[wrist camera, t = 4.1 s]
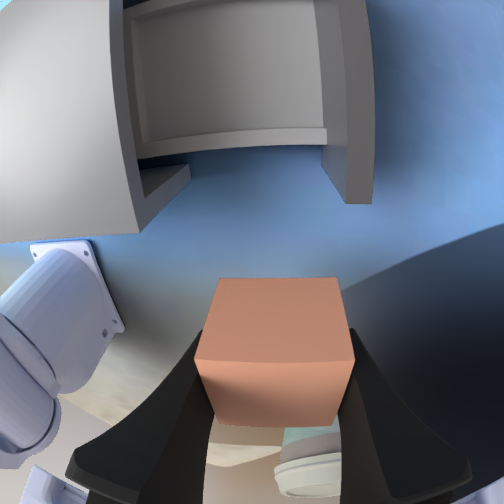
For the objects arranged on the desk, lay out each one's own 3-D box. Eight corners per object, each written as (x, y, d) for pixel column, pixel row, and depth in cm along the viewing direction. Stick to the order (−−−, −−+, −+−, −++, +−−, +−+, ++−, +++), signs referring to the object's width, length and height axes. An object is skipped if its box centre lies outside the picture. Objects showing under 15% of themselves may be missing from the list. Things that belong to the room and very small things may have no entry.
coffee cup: (387, 348, 22) (416, 469, 12) (338, 396, 26) (345, 497, 16) (304, 326, 21) (310, 477, 11) (264, 381, 25) (254, 495, 15)
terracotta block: (325, 352, 13) (331, 425, 9) (232, 352, 13) (219, 423, 10) (336, 277, 10) (355, 360, 7) (219, 278, 11) (194, 358, 7)
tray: (339, 166, 15) (371, 204, 9) (150, 177, 16) (96, 217, 11) (324, -27, 9) (345, -80, 3) (132, -1, 10) (74, -28, 5)
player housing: (191, 179, 16) (139, 233, 10) (60, 198, 17) (-4, 243, 11) (173, -18, 10) (115, -66, 3) (40, 42, 11) (-32, 45, 5)
